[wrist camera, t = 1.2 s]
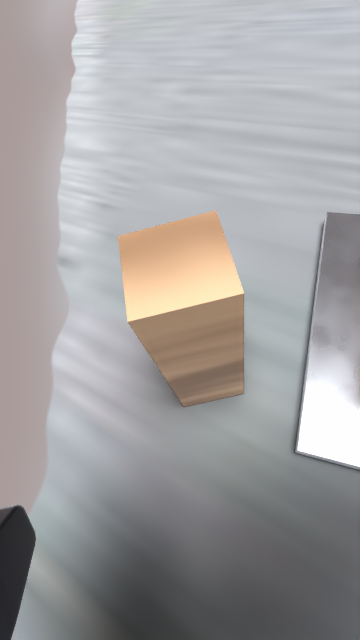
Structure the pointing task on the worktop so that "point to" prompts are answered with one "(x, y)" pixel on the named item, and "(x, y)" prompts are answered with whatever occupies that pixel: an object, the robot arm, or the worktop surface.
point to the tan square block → (187, 306)
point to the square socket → (334, 350)
